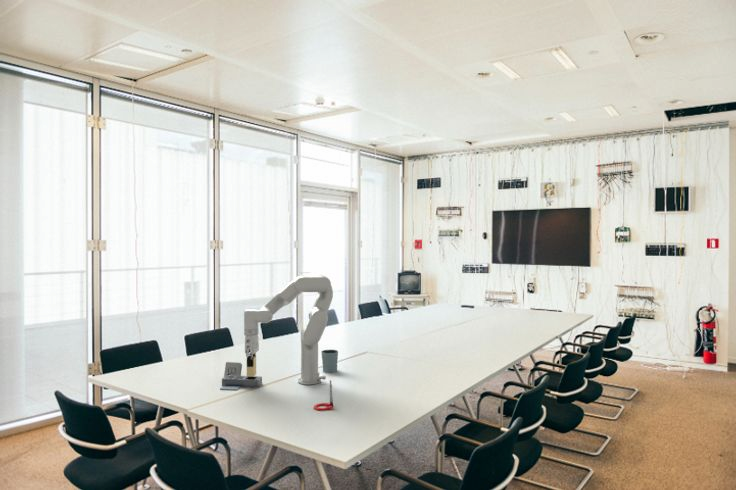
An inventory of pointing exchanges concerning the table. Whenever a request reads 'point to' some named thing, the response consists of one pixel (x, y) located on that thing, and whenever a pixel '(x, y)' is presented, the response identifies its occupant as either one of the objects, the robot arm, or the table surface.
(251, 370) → the brass peg
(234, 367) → the electrical switch
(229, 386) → the rubber mat
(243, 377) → the rail
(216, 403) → the table surface
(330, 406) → the tow hook
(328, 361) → the grey-green cup
